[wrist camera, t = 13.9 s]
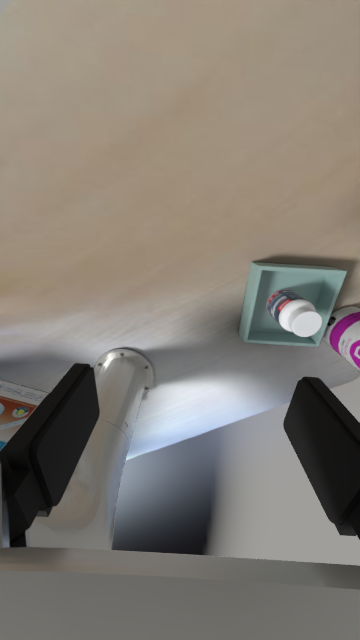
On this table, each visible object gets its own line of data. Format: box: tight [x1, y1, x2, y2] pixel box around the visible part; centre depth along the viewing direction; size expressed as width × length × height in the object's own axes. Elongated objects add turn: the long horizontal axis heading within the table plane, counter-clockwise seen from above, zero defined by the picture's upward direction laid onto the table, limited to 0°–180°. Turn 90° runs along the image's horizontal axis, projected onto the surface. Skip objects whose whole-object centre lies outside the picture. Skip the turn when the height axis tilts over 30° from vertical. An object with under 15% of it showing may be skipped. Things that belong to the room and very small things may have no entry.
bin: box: [238, 262, 347, 347], centre depth 35 cm, size 13×13×4 cm
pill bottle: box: [266, 289, 322, 337], centre depth 32 cm, size 5×5×9 cm
